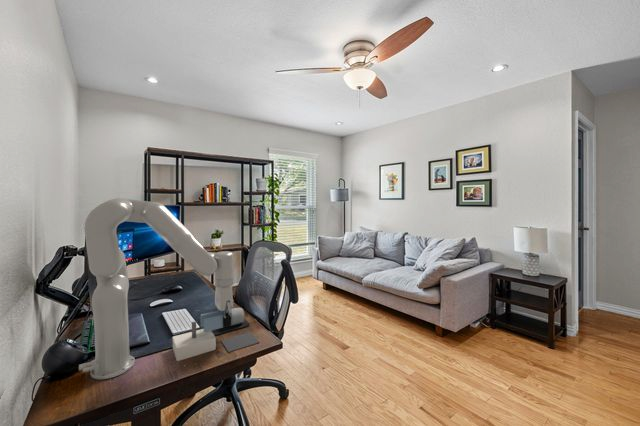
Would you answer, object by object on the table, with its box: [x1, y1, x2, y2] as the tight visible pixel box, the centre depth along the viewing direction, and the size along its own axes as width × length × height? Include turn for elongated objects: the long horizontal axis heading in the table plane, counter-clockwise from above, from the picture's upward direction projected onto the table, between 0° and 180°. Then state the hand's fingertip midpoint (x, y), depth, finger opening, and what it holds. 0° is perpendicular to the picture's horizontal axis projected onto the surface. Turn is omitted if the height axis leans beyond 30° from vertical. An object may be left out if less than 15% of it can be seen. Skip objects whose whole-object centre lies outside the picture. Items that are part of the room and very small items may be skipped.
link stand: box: [172, 321, 217, 362], centre depth 111 cm, size 14×10×11 cm
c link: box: [200, 308, 233, 332], centre depth 115 cm, size 11×6×5 cm, turn 126°
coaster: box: [220, 331, 260, 353], centre depth 117 cm, size 13×10×1 cm
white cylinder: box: [226, 307, 246, 328], centre depth 134 cm, size 11×8×8 cm
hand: (224, 322), depth 117 cm, fingers closed on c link, 6 cm apart
